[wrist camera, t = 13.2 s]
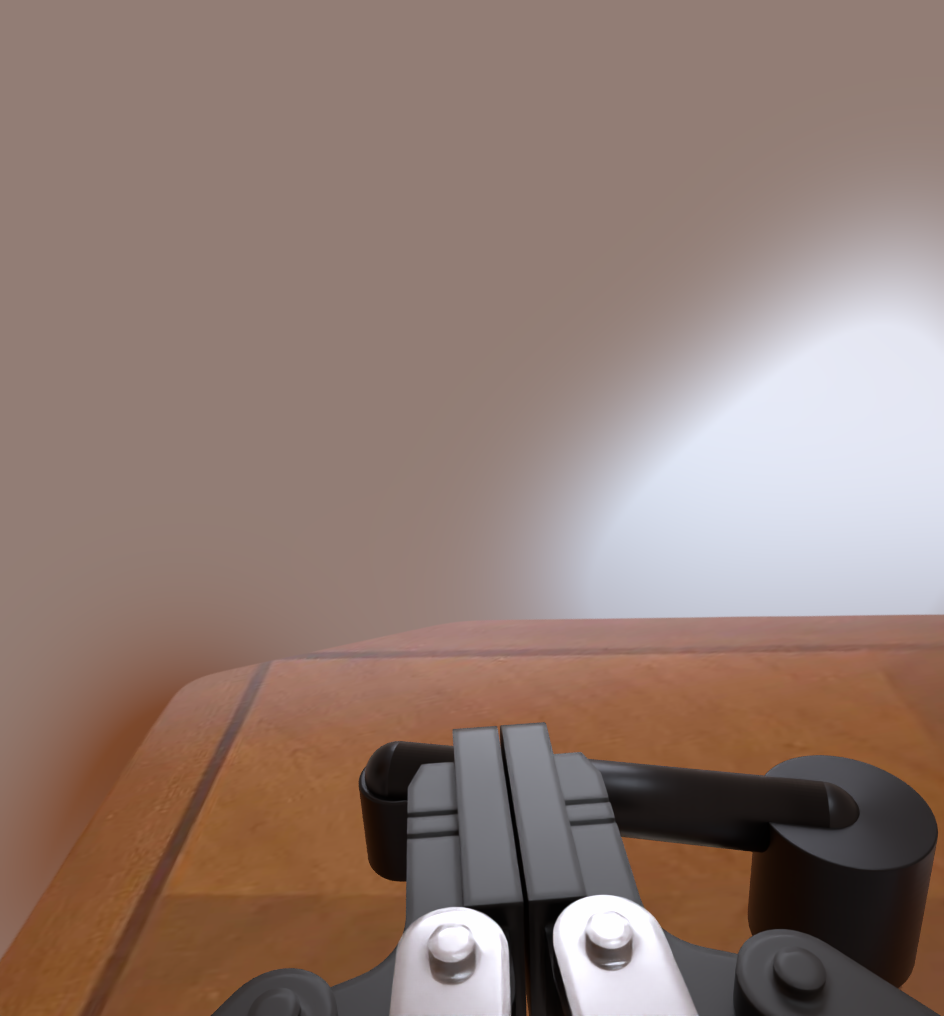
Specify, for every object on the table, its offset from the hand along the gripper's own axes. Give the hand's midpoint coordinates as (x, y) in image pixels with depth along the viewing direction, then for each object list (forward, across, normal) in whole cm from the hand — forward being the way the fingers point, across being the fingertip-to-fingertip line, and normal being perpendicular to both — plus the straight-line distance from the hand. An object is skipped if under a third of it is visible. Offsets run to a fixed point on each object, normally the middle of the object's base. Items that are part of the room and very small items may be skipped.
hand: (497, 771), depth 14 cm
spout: (+8, -4, +12) cm, 15 cm away
